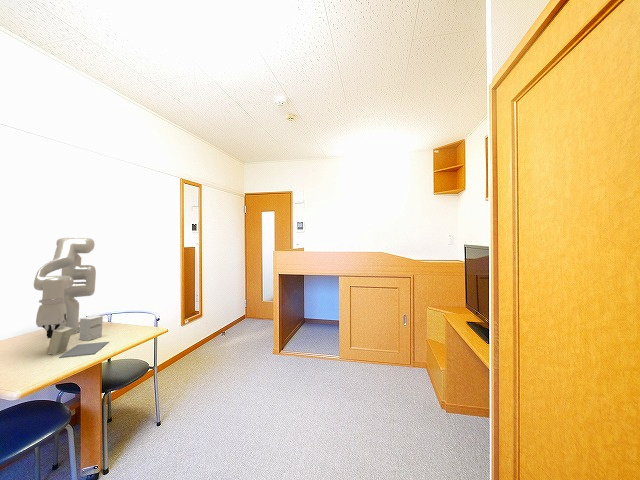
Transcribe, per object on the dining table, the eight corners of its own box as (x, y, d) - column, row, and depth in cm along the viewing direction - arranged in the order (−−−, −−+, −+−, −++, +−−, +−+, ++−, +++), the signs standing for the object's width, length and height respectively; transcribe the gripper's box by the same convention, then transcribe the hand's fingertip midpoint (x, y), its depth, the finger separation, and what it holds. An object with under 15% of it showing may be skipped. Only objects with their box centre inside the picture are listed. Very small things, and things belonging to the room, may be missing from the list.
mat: (77, 345, 135) (77, 344, 135) (108, 342, 140) (109, 341, 140) (58, 358, 120) (58, 357, 120) (94, 354, 125) (94, 353, 125)
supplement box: (88, 341, 141) (89, 319, 141) (78, 339, 143) (79, 318, 143) (102, 336, 148) (103, 315, 149) (92, 335, 150) (93, 314, 150)
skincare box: (58, 348, 129) (64, 325, 129) (66, 350, 129) (73, 327, 129) (45, 353, 122) (52, 329, 123) (54, 355, 123) (61, 331, 123)
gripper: (27, 304, 119) (25, 341, 119) (67, 302, 124) (65, 338, 124) (39, 300, 126) (37, 336, 126) (75, 299, 131) (74, 333, 131)
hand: (51, 337), depth 125 cm, fingers closed
